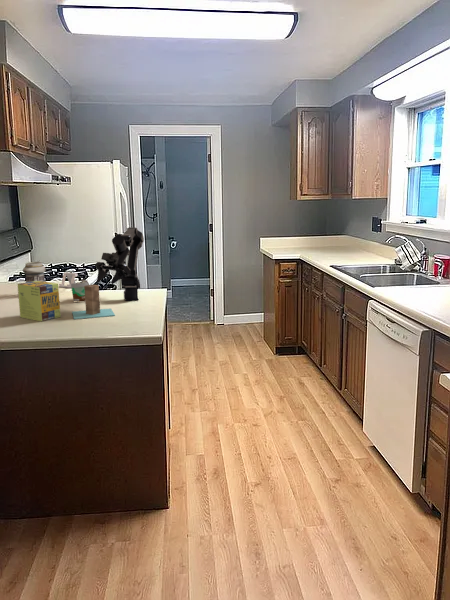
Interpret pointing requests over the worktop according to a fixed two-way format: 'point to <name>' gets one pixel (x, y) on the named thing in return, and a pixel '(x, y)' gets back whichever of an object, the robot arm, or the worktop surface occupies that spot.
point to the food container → (79, 290)
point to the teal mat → (102, 314)
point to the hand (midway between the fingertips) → (104, 282)
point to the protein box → (39, 300)
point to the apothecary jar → (34, 271)
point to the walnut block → (92, 299)
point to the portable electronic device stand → (70, 278)
